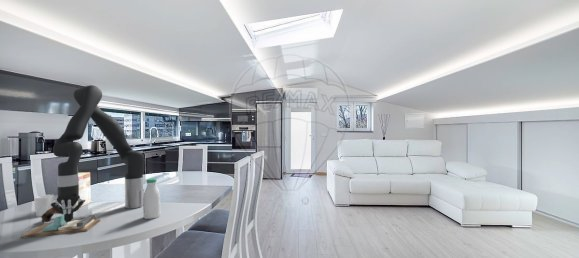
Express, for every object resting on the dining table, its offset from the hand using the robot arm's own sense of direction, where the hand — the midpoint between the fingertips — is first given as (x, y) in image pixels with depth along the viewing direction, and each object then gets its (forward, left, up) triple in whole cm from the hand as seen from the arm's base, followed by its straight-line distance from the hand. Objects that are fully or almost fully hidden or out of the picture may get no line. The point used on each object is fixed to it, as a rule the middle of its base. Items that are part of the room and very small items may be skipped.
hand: (68, 221), depth 117 cm
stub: (+5, 0, -2) cm, 5 cm away
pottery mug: (+14, -15, -4) cm, 21 cm away
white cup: (+25, -29, -4) cm, 39 cm away
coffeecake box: (+15, -41, -4) cm, 44 cm away
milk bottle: (-34, -5, -4) cm, 35 cm away
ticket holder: (+1, 0, -3) cm, 4 cm away
